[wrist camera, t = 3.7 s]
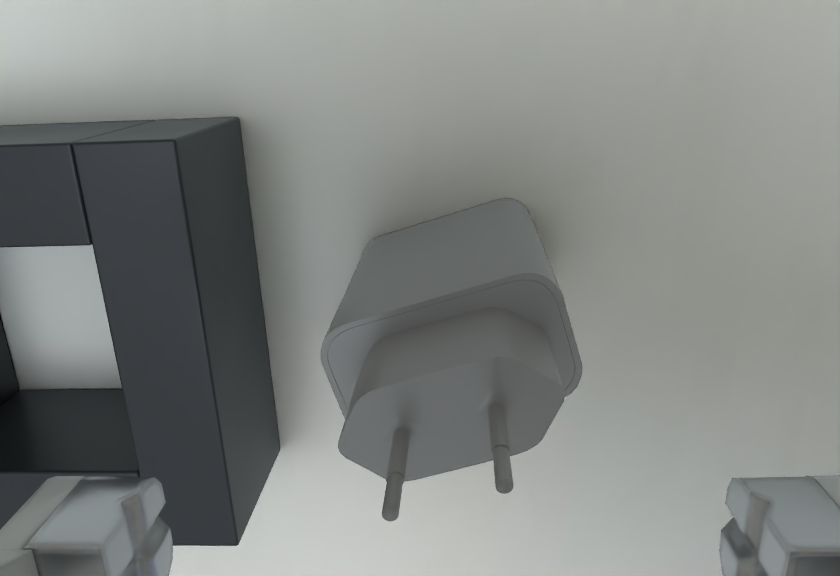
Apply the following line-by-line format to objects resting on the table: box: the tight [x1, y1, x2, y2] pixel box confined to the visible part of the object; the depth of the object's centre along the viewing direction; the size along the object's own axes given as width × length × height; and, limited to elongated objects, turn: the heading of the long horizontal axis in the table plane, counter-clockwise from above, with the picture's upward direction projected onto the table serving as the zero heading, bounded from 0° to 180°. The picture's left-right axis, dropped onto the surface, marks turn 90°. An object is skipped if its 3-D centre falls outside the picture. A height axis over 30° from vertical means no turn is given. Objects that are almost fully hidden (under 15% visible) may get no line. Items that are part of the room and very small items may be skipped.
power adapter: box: [321, 198, 582, 521], centre depth 16 cm, size 3×5×12 cm, turn 108°
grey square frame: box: [0, 117, 280, 546], centre depth 21 cm, size 12×12×5 cm
